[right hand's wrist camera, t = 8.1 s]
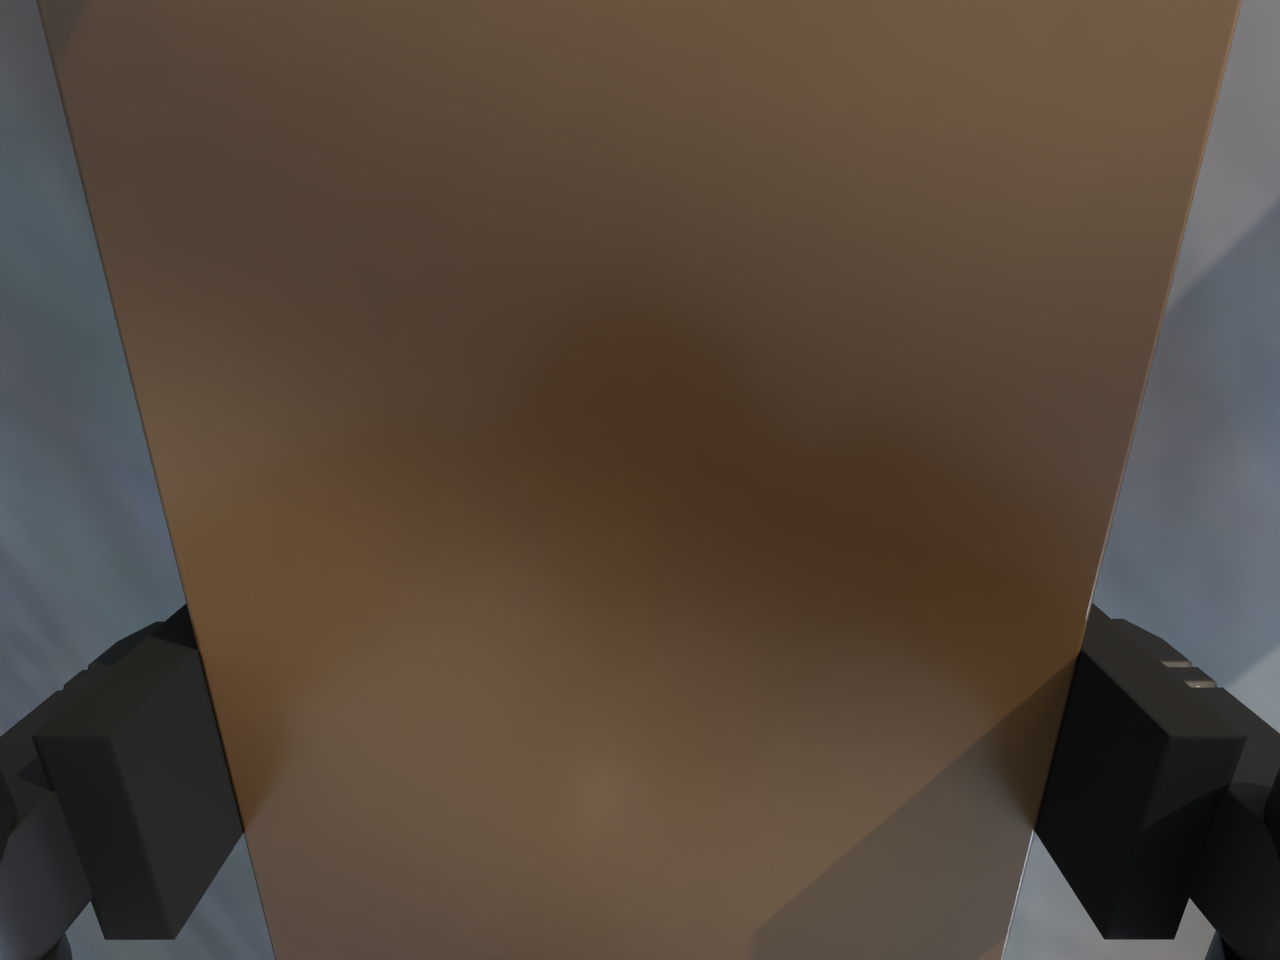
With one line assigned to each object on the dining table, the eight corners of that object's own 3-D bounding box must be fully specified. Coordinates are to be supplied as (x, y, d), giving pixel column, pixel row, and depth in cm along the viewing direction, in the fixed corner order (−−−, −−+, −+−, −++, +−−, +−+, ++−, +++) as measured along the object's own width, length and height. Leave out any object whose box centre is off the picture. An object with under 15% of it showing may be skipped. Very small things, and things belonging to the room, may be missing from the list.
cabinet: (332, -338, 12) (-377, -1625, 4) (947, -338, 12) (1654, -1617, 4) (441, 642, 18) (280, 988, 10) (837, 642, 18) (998, 988, 10)
